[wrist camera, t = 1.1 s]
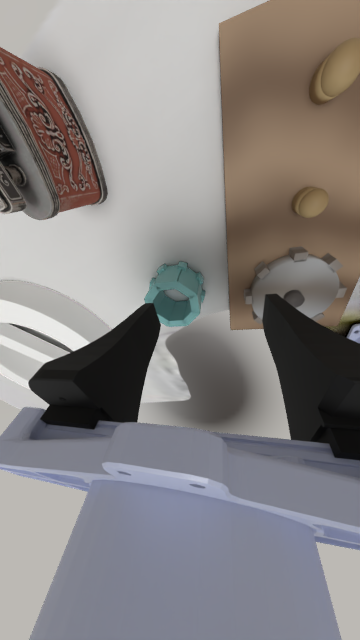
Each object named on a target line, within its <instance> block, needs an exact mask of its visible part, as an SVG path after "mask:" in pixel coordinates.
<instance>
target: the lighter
mask: <svg viewBox="0 0 360 640" xmlns="http://www.w3.org/2000/svg"><path fill="white" fill-rule="evenodd" d="M107 194H108V193H107V186H106V182H105V178H104V175H103V171H102V167H101V164H100V161H99V158H98V155H97V152H96V149H95V146H94V144H93V141H92V139H91V136H90V134H89V132H88V130H87V127H86V125H85V123H84V121H83V118H82V116H81V114H80V112H79V110H78V108H77V106H76V104H75V103H74V101H73V99H72V97H71V95H70V93H69V91H68V89H67V88H66V86H65V84H64V83H63V81H62V80H61V79H60V78H59V77H58V76H56V75H55V74H54V73H52V72H50V71H49V70H47V69H44V68H41V67H39V68H36V67H34V66H33V65H31V64H29V63H27V62H26V61H24V60H22V59H20V58H18V57H17V56H15V55H13V54H11V53H10V52H8V51H6V50H4V49H3V48H1V47H0V213H2V214H8V213H13V212H18V211H23V212H24V213H25V214H27V215H28V216H30V217H32V218H34V219H37V220H45V219H49V218H52V217H54V216H56V215H57V214H58V213H59V212H63V211H66V210H70V209H74V208H78V207H81V206H85V205H98V204H101V203H103V202H104V201H105V200H106V198H107Z"/></svg>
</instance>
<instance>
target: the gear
mask: <svg viewBox="0 0 360 640" xmlns="http://www.w3.org/2000/svg"><path fill="white" fill-rule="evenodd" d="M187 264H188V263H184V262H179V264H178V265H174V266H167V265H166V264H164V265H162V266H160V267H159V269H158V270H157V273H158V274H159V275H158V276H157V278H156V279H155V278H152V280H151V282H150V287H149V289H150V290H149V291H148V293H147V295H146V297H145V298H144V300H145V303H154V306H155V309H156V312H157V315H158V318H159V321H160V322H161V323H162V324H164V325H166V326H169V327H174V326H187V325H189V324H190V323H191V322H192V321H193V320H194V319H195V318H196V317H197V316H198V315H199V314H200V309H201V302H203V300H204V297H205V291H203V290H202V286H201V284H203V279H204V278H203V277H202V275H201V273H200V272H199V273H197V274H196V273H195V272H194V271H192V270H191V269H189V268H188V267H187ZM171 289H176V290H178V291H179V292H181V293H182V294H184V295H185V296H187V297H188V298H189V300H188V301H177V302H175V301H174V300H172V299H170V298H169V297H167V296H166V295H165V294H164V291H163V290H171Z"/></svg>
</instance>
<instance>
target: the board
mask: <svg viewBox="0 0 360 640" xmlns="http://www.w3.org/2000/svg"><path fill="white" fill-rule="evenodd" d="M219 48H220V74H221V99H222V125H223V151H224V177H225V202H226V228H227V254H228V280H229V305H230V328H231V330H243V329H264V328H263V323H262V318H263V309H264V301H265V294H278V295H279V296H280V297H282V298H283V299H284V300H285V301H287V302H288V303H289V304H291V305H292V306H293V307H295V308H296V309H297V310H299V311H300V312H302V313H303V314H305V315H306V316H308V317H309V318H311V319H312V320H314V321H315V322H317V323H319V324H320V325H322V326H338V324H339V322H340V320H341V317H342V315H343V313H344V311H345V308H346V306H347V304H348V301H349V299H350V297H351V295H352V292H353V290H354V288H355V286H356V283H357V281H358V279H359V277H360V0H270V1H267V2H265V3H263V4H261V5H259V6H256V7H254V8H252V9H250V10H248V11H245V12H243V13H241V14H239V15H237V16H234V17H232V18H230V19H228V20H226V21H223V22H221V23H219Z"/></svg>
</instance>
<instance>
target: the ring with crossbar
mask: <svg viewBox="0 0 360 640" xmlns="http://www.w3.org/2000/svg"><path fill="white" fill-rule="evenodd" d="M8 323H11V324H16V325H20V326H24V327H28V328H30V329H33V330H36V331H39V332H41V333H43V334H45V335H48V336H50V337H52V338H54V339H55V340H57V341H59V342H61V343H62V344H64V345H65V346H67V347H68V348H70V349H71V350H73V351H76V350H78V349H80V348H82V347H84V346H86V345H88V344H89V343H91V342H93V341H95V340H97V339H98V338H100V337H102V336H103V335H105V334H106V333H108V332H109V331H111V330H112V329H111V328H110V327H109V326H108V325H107V324H106V323H105V322H104V321H103V320H102V319H101V318H99V317H98V316H97V315H96V314H94V313H93V312H92V311H90V310H89V309H88V308H86V307H85V306H83V305H81V304H80V303H78V302H77V301H75V300H73V299H71V298H69V297H67V296H66V295H63V294H61V293H59V292H57V291H54V290H52V289H49V288H47V287H44V286H40V285H37V284H33V283H29V282H23V281H13V280H7V281H0V374H1V375H3V376H4V377H6V378H8V379H10V380H11V381H13V382H15V383H17V384H19V385H21V386H23V387H25V388H27V389H30V388H29V384H28V382H29V380H30V379H31V378H32V377H33V376H34V374H35V373H36V372H37V371H38V370H39V369H40V368H41V367H42V365H43V364H44V363H46V362H49V361H52V360H54V359H57V358H59V357H62V356H64V355H67V354H69V353H70V352H68V351H66V350H63V349H61V348H59V347H57V346H55V345H53V344H51V343H49V342H46V341H44V340H42V339H40V338H38V337H36V336H34V335H32V334H30V333H27V332H25V331H23V330H21V329H19V328H17V327H15V326H13V325H10V324H8ZM30 390H31V389H30Z"/></svg>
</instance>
